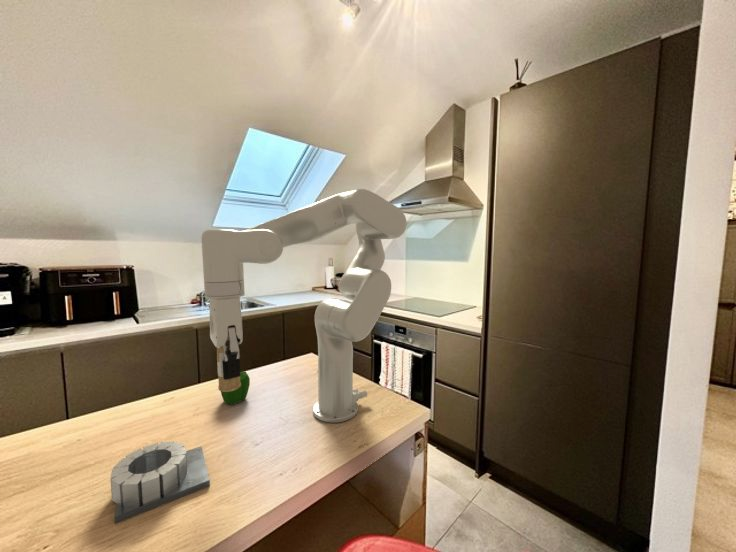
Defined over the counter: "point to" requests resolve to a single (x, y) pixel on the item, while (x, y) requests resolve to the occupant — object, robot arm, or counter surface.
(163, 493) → the collar block
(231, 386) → the sprinkles bottle
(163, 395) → the counter surface
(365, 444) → the counter surface
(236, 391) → the bell pepper
